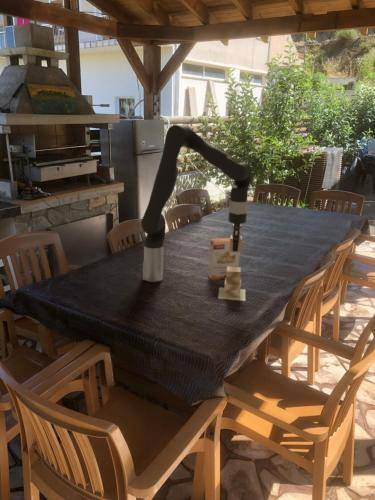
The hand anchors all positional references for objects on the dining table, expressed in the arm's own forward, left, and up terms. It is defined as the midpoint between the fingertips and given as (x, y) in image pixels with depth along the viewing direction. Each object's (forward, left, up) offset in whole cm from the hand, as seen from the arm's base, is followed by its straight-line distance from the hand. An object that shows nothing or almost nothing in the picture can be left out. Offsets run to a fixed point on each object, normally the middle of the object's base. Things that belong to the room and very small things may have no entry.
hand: (235, 249), depth 180 cm
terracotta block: (0, 0, -1) cm, 1 cm away
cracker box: (-5, +19, -23) cm, 31 cm away
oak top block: (0, 0, -15) cm, 15 cm away
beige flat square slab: (0, 0, -23) cm, 23 cm away
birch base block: (0, 0, -21) cm, 21 cm away
